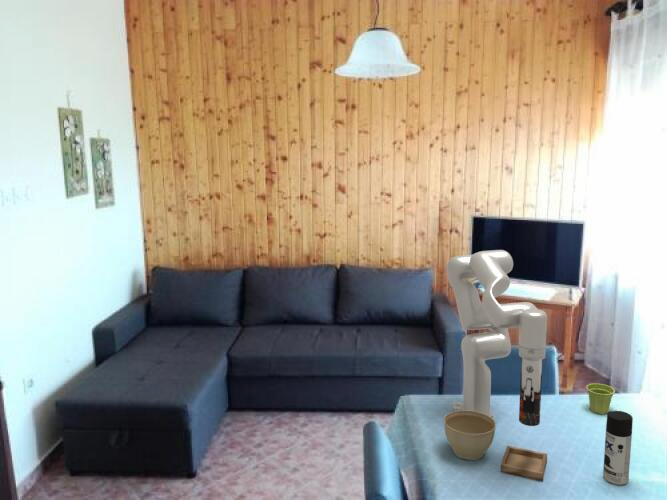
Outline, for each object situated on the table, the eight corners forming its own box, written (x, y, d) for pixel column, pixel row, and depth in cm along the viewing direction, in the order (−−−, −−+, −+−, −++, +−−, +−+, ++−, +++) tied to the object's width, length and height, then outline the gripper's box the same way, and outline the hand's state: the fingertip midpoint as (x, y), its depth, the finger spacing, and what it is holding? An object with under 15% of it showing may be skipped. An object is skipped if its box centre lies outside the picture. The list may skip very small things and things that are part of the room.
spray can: (598, 473, 161) (601, 410, 158) (619, 471, 162) (624, 409, 159) (611, 486, 155) (615, 421, 151) (633, 484, 155) (638, 419, 152)
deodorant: (541, 426, 160) (543, 379, 158) (520, 425, 162) (522, 378, 159) (537, 417, 166) (539, 371, 164) (517, 415, 167) (519, 370, 165)
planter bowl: (494, 470, 165) (495, 436, 163) (441, 462, 169) (441, 430, 167) (495, 443, 180) (496, 412, 178) (446, 437, 184) (446, 407, 183)
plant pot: (619, 414, 197) (620, 392, 195) (597, 418, 195) (598, 395, 193) (601, 403, 206) (602, 382, 204) (579, 406, 204) (580, 385, 202)
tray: (500, 471, 163) (500, 464, 163) (507, 452, 174) (507, 445, 174) (542, 481, 158) (543, 474, 158) (546, 460, 169) (547, 453, 168)
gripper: (543, 363, 151) (540, 423, 154) (547, 342, 166) (545, 397, 169) (515, 359, 154) (512, 418, 157) (521, 339, 169) (519, 393, 172)
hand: (529, 407), depth 163 cm, fingers closed on deodorant, 5 cm apart
